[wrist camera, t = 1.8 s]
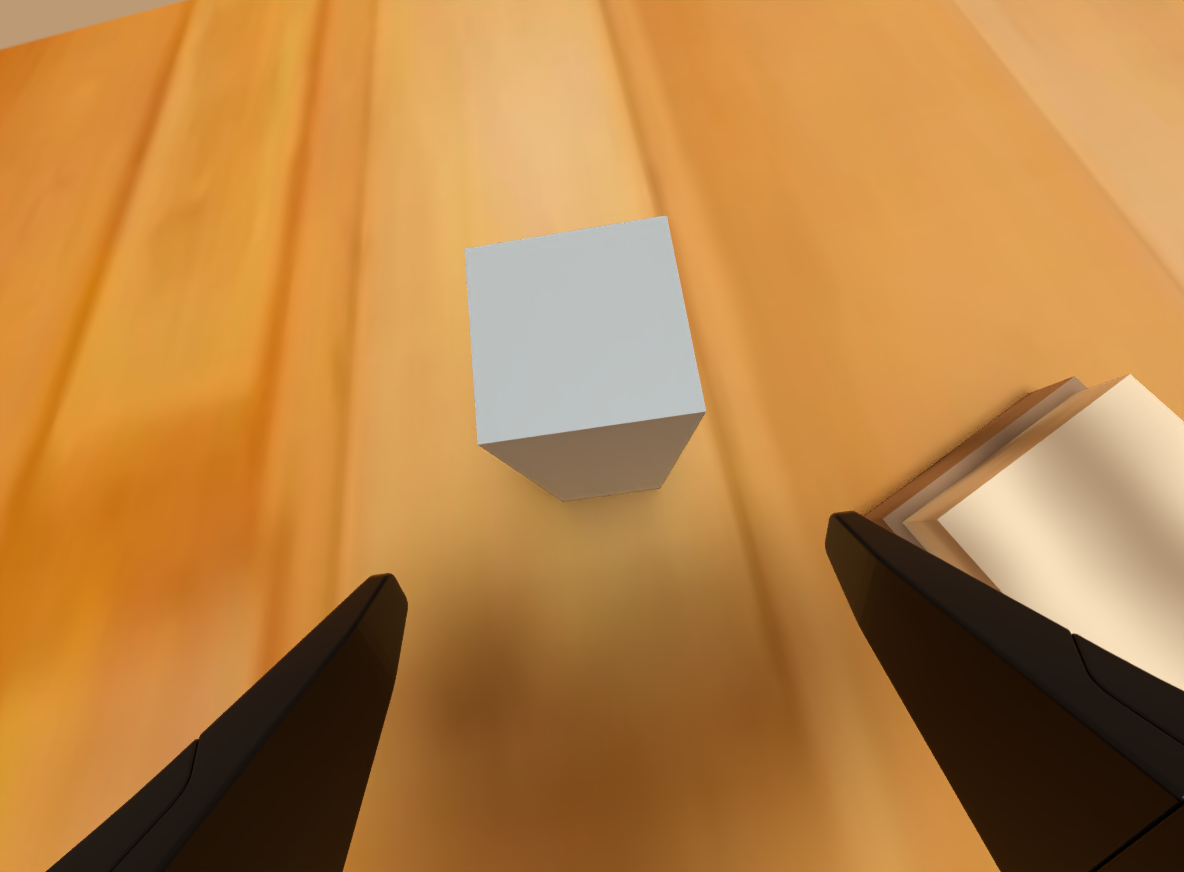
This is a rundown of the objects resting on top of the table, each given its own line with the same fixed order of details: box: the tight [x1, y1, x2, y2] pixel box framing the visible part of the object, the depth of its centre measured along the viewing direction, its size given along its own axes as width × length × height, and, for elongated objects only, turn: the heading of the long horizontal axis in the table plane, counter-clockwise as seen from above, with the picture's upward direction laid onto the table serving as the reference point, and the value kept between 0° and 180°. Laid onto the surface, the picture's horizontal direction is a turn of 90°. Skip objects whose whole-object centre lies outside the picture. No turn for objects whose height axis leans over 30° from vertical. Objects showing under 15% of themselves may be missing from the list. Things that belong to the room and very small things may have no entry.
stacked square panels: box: [864, 374, 1184, 691], centre depth 16 cm, size 10×10×4 cm
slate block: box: [465, 215, 706, 502], centre depth 15 cm, size 4×4×12 cm
